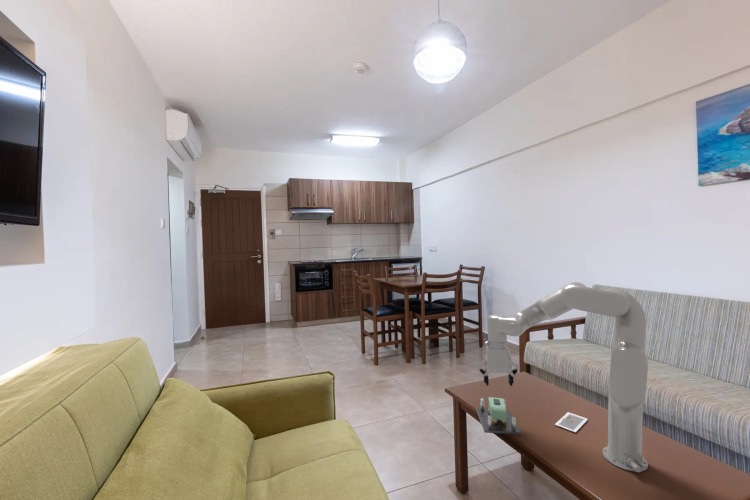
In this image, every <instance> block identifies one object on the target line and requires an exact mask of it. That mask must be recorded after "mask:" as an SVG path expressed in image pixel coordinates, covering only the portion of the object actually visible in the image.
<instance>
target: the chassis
mask: <svg viewBox="0 0 750 500" xmlns="http://www.w3.org/2000/svg"><path fill="white" fill-rule="evenodd" d="M502 399H503V401H504V404H505V405H506V398H502ZM479 404H480V407H476V413H477V415H478V419H479V421H480V424H481V427H482V430H483V432H484V433H485V434H486V433H487V434H502V435H504V434H505V435H522V432H521V430H520V428H519V426H518V424H517V420H516V419H517V418H516V417H515V416H513V415H512V413H511V412H510V410H509V409H507V408H506V411H507V421H506V420H497V419H492V416H491V415H490V410H489V406H487V407H488V408H487V407H486V408H485V398H484V397H481V398H480V403H479Z"/></svg>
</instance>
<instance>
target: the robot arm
mask: <svg viewBox="0 0 750 500" xmlns="http://www.w3.org/2000/svg"><path fill="white" fill-rule="evenodd" d="M572 310H578V311H581V312H587V313H592V314H597V315H601V316H606V317H612V318H613V317H614V320H615V322H614V335H613V337H614V338H613V344H612V347H611V348H612V349H611V354H610V367H609V369H610V370H609V375H608V382H607V384H608V385H607V386H608V408H607V409H608V413H607V416H608V417H607V421H608V422H607V426H608V427H607V445H606V446H605V447H603V448H602V455H603V457H604V459H606V460H607V461H608V462H609V463H610V464H612V465H614V466H615V467H618V468H620V469H621V470H622V469H623V470H626V471H630V472H635V473H641V472H644V471H645V472H646V470H648V468H649V464H648V461H647V460H646V459H645V458H644V456H643V420H644V419H643V415H644V414H643V413H644V411H643V409H644V407H643V406H644V405H643V404H644V402H645V400H646V399H645V398H646V392H647V382H648V372H649V364H648V363H649V362H648V358H647V354H646V339H647V337H646V335H647V320H646V313H645V311H644V308H643V307H642V305H641V304H640V302H639V301H638V299H637V298H636V297H635V296H633V295H632V294H630V292H627V291H625V290H624V289H620V288H618V287H609V288H605V289H601V288H600V289H598V288H593V287H588V286H586V285H585V284H584V283H581V282H578V281H575V282H570V283H568V284H565V285H564V286H563V287H560V288H559V289H557V290H555V291H553V292H552V293H549V294H547V295H546V296H544V297H542V298H540V299H539V300H537V301H536V302H535V303H533V304H532V305H530V306H527V307H525V308H524V309H522V310H520V311H519V312H517V313H515V314H513V315H511V316H510V317H506V316H505V315H502V314H490V315H487V320H486V321H487V340H486V341H484V345H485V346H486V350H485V356H484V357H485V359H484V360H482V361H481V362H479V363H477V364H476V366H477V368H478V371H479V372H480V373H481V374H482V375H483V383H484V384H485V385H486V386H487V387H488V386H489V375H490V373H491V374H508V375H507V376H508V385H509V386H511V387H513V384H514V381H515V380H514V377H515V376H516V374H517V373H518V371H519V370H520V368H521V366H520V364H518V363H516V362H514V361H512V355H511V351H510V348H509V347H508V337H507V336H510V337H520V336H521V335H523V334H524V332H525V331H526V330H528V329H530V328H533V327H534V326H535V325H538V324H539V323H542V322H545V321H549V320H550V321H552V320H554V319H556V318H559V317H560V316H562V315H564V314H566V313H569V312H570V311H572ZM483 366H484V367H485V369H484V368H482V367H483ZM513 367H514V368H513Z"/></svg>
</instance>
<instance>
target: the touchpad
mask: <svg viewBox="0 0 750 500" xmlns="http://www.w3.org/2000/svg"><path fill="white" fill-rule="evenodd" d="M588 420H589V419H588V418H586V417H583V416H580V415H577V414H575V413H572V412H569V411H568V412H566V413H565V414H564V415H563V416H562V417H561V418H560V419H559V420H558V421H556V422H555V424H554V426H555V425H556V426H557V427H561V428H563V429H566V430H568V431H571V432H574V433H577V432H578V430H580V428H582V426H583V425H585V423H586V422H587V421H588Z"/></svg>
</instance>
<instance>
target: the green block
mask: <svg viewBox="0 0 750 500" xmlns="http://www.w3.org/2000/svg"><path fill="white" fill-rule="evenodd" d="M503 399H504V398H502V397H501V398H500V397H490V396H488V407H489V410H490V415H491V416H492V419H497V420H506V421H507V411H506V409H507V408H506V403H505V404H504V401H503Z"/></svg>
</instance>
